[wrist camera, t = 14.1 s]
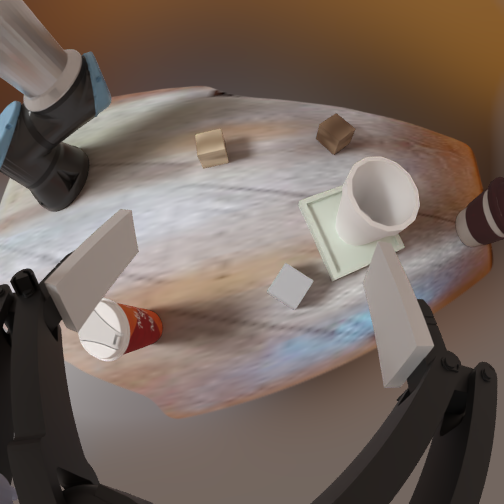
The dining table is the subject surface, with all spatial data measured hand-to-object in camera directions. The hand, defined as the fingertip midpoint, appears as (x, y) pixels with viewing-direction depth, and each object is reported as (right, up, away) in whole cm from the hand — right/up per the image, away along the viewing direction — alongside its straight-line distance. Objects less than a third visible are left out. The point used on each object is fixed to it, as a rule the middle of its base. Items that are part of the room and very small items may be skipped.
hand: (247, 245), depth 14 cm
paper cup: (-16, -12, +27) cm, 34 cm away
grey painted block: (+6, -6, +26) cm, 28 cm away
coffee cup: (+42, +4, +26) cm, 49 cm away
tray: (+16, +4, +28) cm, 32 cm away
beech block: (-6, +17, +32) cm, 37 cm away
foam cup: (+16, +4, +27) cm, 31 cm away
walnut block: (+15, +20, +31) cm, 40 cm away
